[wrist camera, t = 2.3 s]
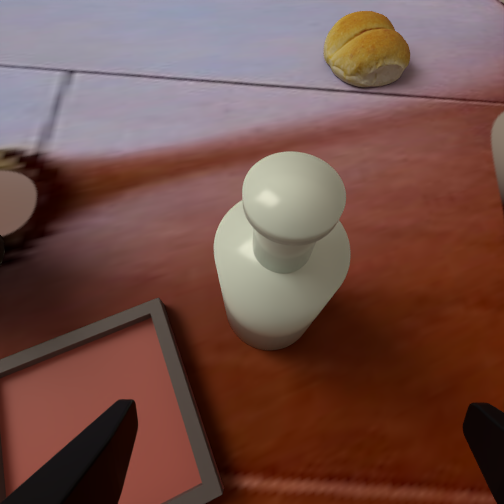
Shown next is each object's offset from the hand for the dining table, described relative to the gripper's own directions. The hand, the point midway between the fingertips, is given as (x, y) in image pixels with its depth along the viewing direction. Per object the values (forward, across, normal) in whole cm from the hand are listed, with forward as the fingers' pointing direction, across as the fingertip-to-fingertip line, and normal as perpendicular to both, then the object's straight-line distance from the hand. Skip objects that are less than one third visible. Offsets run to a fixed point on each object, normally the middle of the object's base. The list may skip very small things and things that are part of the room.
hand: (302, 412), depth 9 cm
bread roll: (+33, -10, -14) cm, 38 cm away
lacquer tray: (+8, +10, +10) cm, 16 cm away
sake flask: (+14, 0, +4) cm, 14 cm away
